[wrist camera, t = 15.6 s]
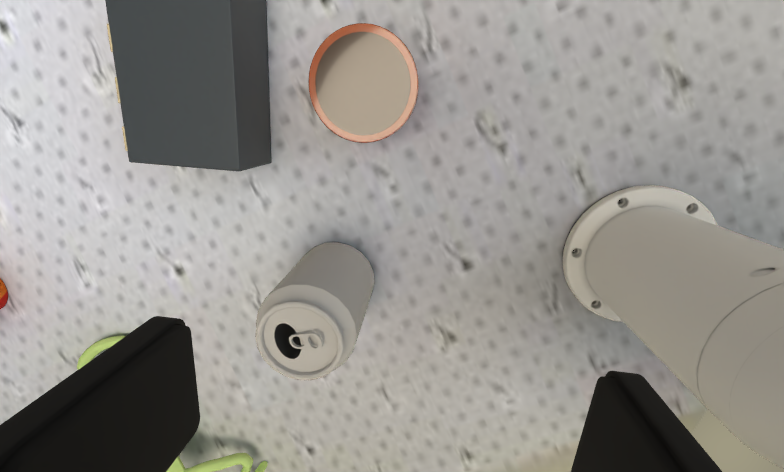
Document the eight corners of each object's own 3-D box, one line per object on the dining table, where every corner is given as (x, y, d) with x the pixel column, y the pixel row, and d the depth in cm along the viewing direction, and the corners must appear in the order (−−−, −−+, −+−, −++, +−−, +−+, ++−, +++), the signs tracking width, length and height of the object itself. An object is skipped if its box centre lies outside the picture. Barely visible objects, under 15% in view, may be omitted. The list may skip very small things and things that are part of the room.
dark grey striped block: (266, -18, 30) (227, -51, 24) (271, 162, 34) (239, 171, 28) (155, -23, 30) (92, -57, 24) (175, 155, 35) (125, 161, 29)
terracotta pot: (424, 47, 30) (423, 25, 23) (416, 141, 32) (413, 146, 25) (334, 41, 30) (307, 19, 24) (332, 134, 33) (308, 138, 26)
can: (292, 246, 36) (229, 304, 25) (366, 232, 35) (336, 287, 24) (313, 313, 38) (263, 395, 27) (383, 303, 37) (363, 384, 26)
